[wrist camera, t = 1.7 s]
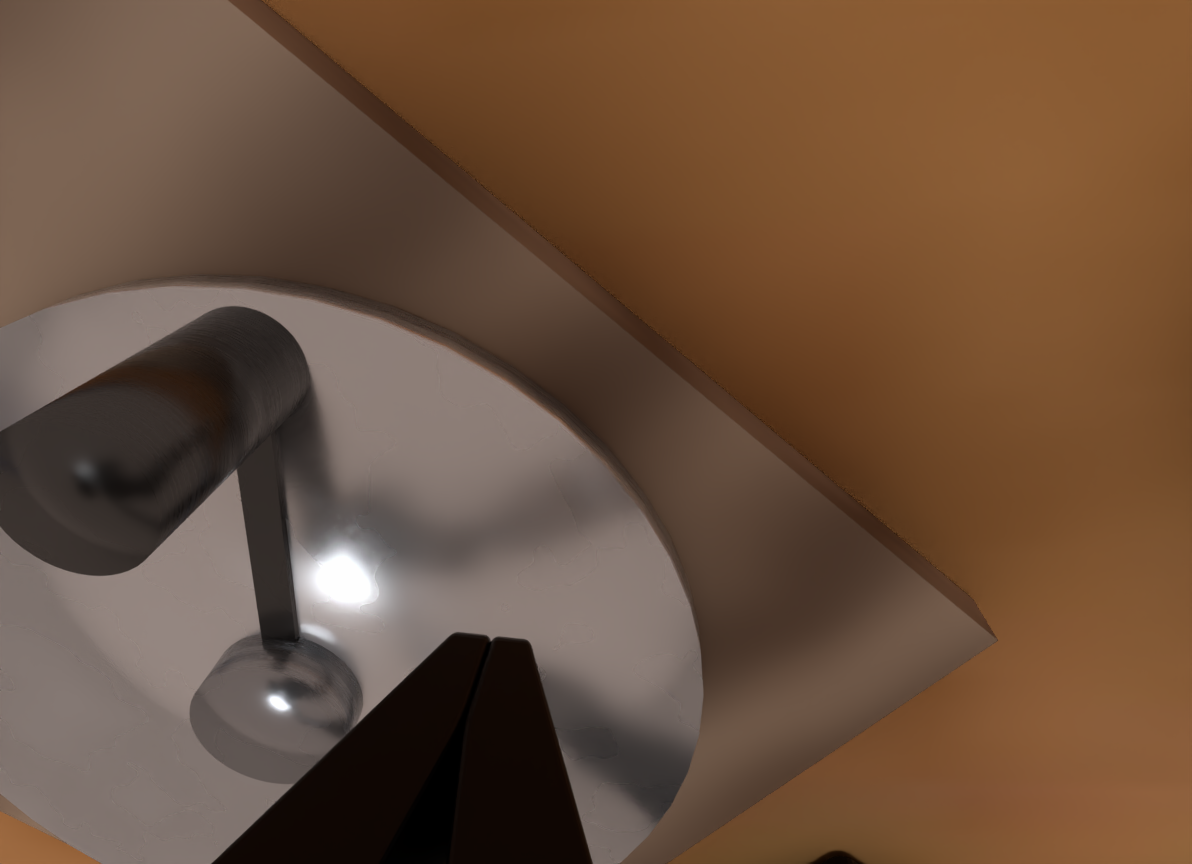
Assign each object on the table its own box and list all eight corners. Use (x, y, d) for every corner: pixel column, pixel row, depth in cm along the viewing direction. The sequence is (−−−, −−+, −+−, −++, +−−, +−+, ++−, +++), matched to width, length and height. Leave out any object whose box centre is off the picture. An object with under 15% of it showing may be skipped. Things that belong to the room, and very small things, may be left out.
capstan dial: (649, 936, 24) (651, 1196, 18) (21, 864, 24) (-160, 1099, 18) (771, 328, 15) (845, 484, 9) (-237, 225, 15) (-736, 319, 9)
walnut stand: (973, 599, 19) (1017, 671, 17) (440, 976, 28) (422, 1055, 26) (95, -140, 13) (-18, -181, 11) (-223, 636, 22) (-320, 701, 20)
